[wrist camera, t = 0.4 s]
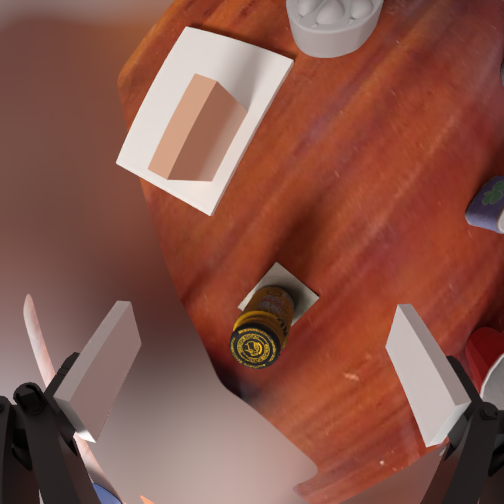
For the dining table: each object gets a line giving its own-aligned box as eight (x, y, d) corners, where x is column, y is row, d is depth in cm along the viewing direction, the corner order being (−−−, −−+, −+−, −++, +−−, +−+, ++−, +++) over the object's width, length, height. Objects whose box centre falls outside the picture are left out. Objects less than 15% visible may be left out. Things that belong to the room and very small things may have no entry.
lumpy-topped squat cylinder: (386, 16, 29) (397, -17, 20) (339, 74, 33) (343, 45, 24) (323, -17, 29) (321, -52, 21) (273, 36, 33) (261, 4, 25)
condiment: (238, 306, 42) (208, 347, 30) (276, 261, 39) (258, 291, 28) (278, 339, 41) (262, 389, 30) (319, 296, 39) (317, 339, 27)
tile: (230, 104, 35) (192, 72, 24) (248, 111, 35) (216, 80, 23) (194, 172, 38) (145, 168, 26) (211, 181, 38) (167, 179, 26)
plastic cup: (513, 307, 32) (554, 340, 21) (494, 368, 35) (525, 408, 23) (460, 309, 35) (498, 348, 23) (443, 373, 37) (468, 421, 25)
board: (189, 29, 35) (186, 26, 34) (294, 63, 33) (293, 60, 32) (120, 163, 41) (115, 163, 40) (213, 215, 40) (210, 215, 39)
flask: (470, 228, 32) (512, 241, 22) (459, 211, 32) (500, 219, 22) (506, 186, 30) (552, 187, 20) (496, 169, 30) (541, 166, 20)
